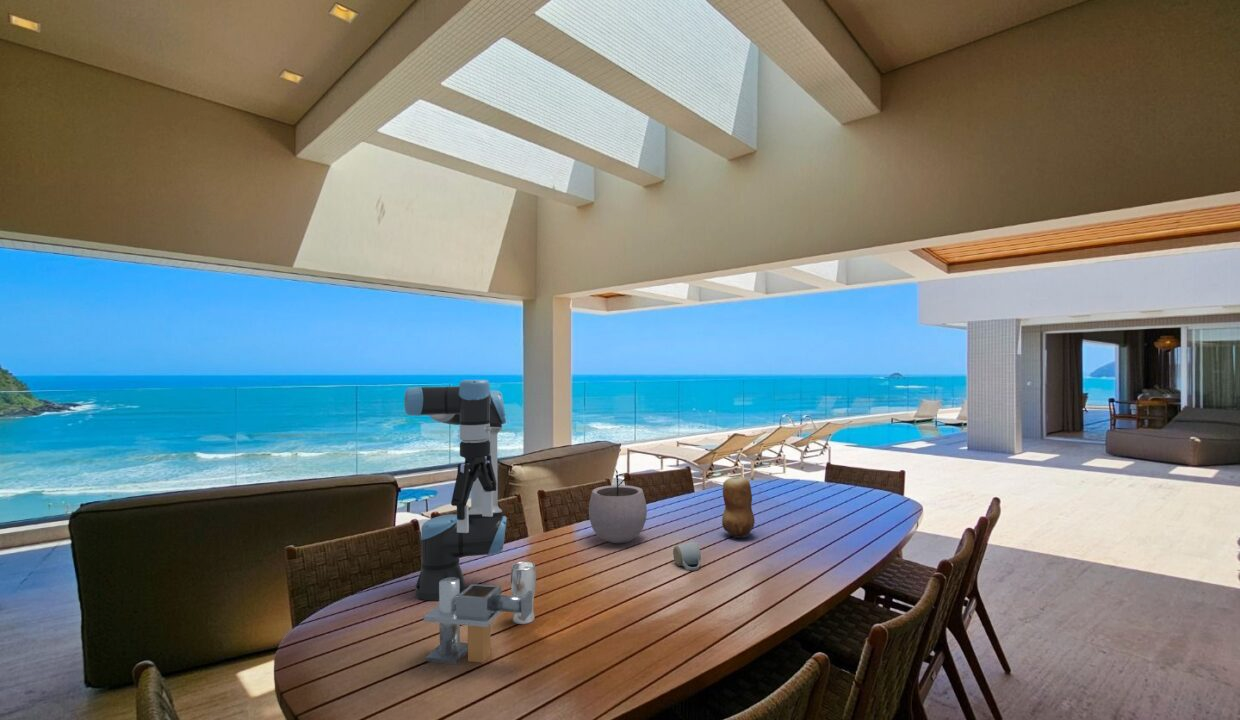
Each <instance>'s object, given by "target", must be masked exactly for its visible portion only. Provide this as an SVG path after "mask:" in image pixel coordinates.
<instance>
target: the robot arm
mask: <svg viewBox="0 0 1240 720" xmlns="http://www.w3.org/2000/svg"><path fill="white" fill-rule="evenodd" d="M490 388H491V387H490V382H489V380H487V379H464V380H461V381H460V383H459V386H458V385H457V386H456V385H455V386H452V385H451V386H414V387H408V388H406V390H405V392H404V398H403V399H404V400H403V402H404V403H403V405H404V406H403V407H404V412H405V414H406V415H407V416H429V417H430V419H432V420H433V421H435V422H439V423H442V424H446V425H454V426H459V440H460V443H459V456H460V457H461V458H464V463H458V465H457V473H456V478H455V482H454V488H453V492H452V497H451V503H450V505H451V506H452V507H456V513H455V514H452V513H449V514H443V515H439V516H435V517H433V518H430V519H428V520H426V521H425V522H423V524H422V526H421V528H420V529H421V534H420V548H421V549H420V550H421V551H420V552H421V553H420V554H421V555H420V556H421V557H420V561H421V565H420V572H419V575H418V579H417V582H416V585H415V597H417V598H418V599H420V600H424V601H439V582H440V580H442V579H445V578H449V577H456V578H459V583H460V593H461V592H463V591H464V590H465V589H466V579H465V577H464V574H463V571H462V567H461V565H460V558H462V557H463V558H464V557H465V558H467V557H477V556H490V555H496V554H500V553H502V551H503V549H504V544H505V536H506V528H507V519H508V518H507V516H505V515H503V510H502V509H501V508H500V507H499V504H498V502H499V500H498V498H499V495H498V485H499V484H498V483H499V482H498V478H499V477H498V474H499V473H498V434H499V433H500V432H501V431H502V429H503V427H502V426H503V425H504V424H506V423H507V420H506V411H505V404H504V398H503V394H502V392H501V391H499V390H492V389H490ZM469 497H470V500H471V501H470V509H469V504H467V503H468V500H469Z"/></svg>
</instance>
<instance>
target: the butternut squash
mask: <svg viewBox="0 0 1240 720" xmlns="http://www.w3.org/2000/svg"><path fill="white" fill-rule="evenodd" d="M722 496H723V498H722V499H723V501H724V502H723V503H724V511H723V513H722V518H721V520H722V521H721V525H722V528H723V529H724V531H725V532H727V533H728V534H729V535H730V536H731V537H734V538H737V539H739V538H741V539H742V538H746V537H748V536H749V535H750V533H751V532H752V529H753V528H754V527H755V516H754V513H753V509H752V508H753V506H752V502H753V494H752V488H751V483H750V481H749V479H748V478H746V477H745V476H734V477H730V478H727V479H725V480H724V482H723V484H722Z"/></svg>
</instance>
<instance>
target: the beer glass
mask: <svg viewBox="0 0 1240 720" xmlns="http://www.w3.org/2000/svg"><path fill="white" fill-rule="evenodd" d="M536 576H537V575H536V564H535V563H534V562H531V561H520V562H515V563H514V564H511V570H510V589H511V596H519V597H524V595H525V594H526V593H527V592H528V591H532V612H531V614H530V615H529V616H528V617H527V618H526V620H525V621H522V620H521V613H512V614H513V615H512V616H513V617H512V622H513V623H514V624H518V625H527V624H529V623H532V622H533V621H534V620H535V618H536V617H535V612H534V599H535V593H536V585H537V577H536Z"/></svg>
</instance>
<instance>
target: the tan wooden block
mask: <svg viewBox="0 0 1240 720" xmlns="http://www.w3.org/2000/svg"><path fill="white" fill-rule="evenodd" d="M491 631H492V630H491V624H490V625H489V626H488V627H481V626H470V625H467V643H468V653H467V662H472V663H473V662H475V663H485V661H486V660H487V659H488V658H489V657H490V655H491V653H492V651H491V650H492V649H491V648H492V647H491V646H492V645H491V642H492V641H491V636H492V635H491V634H492V633H491Z"/></svg>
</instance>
